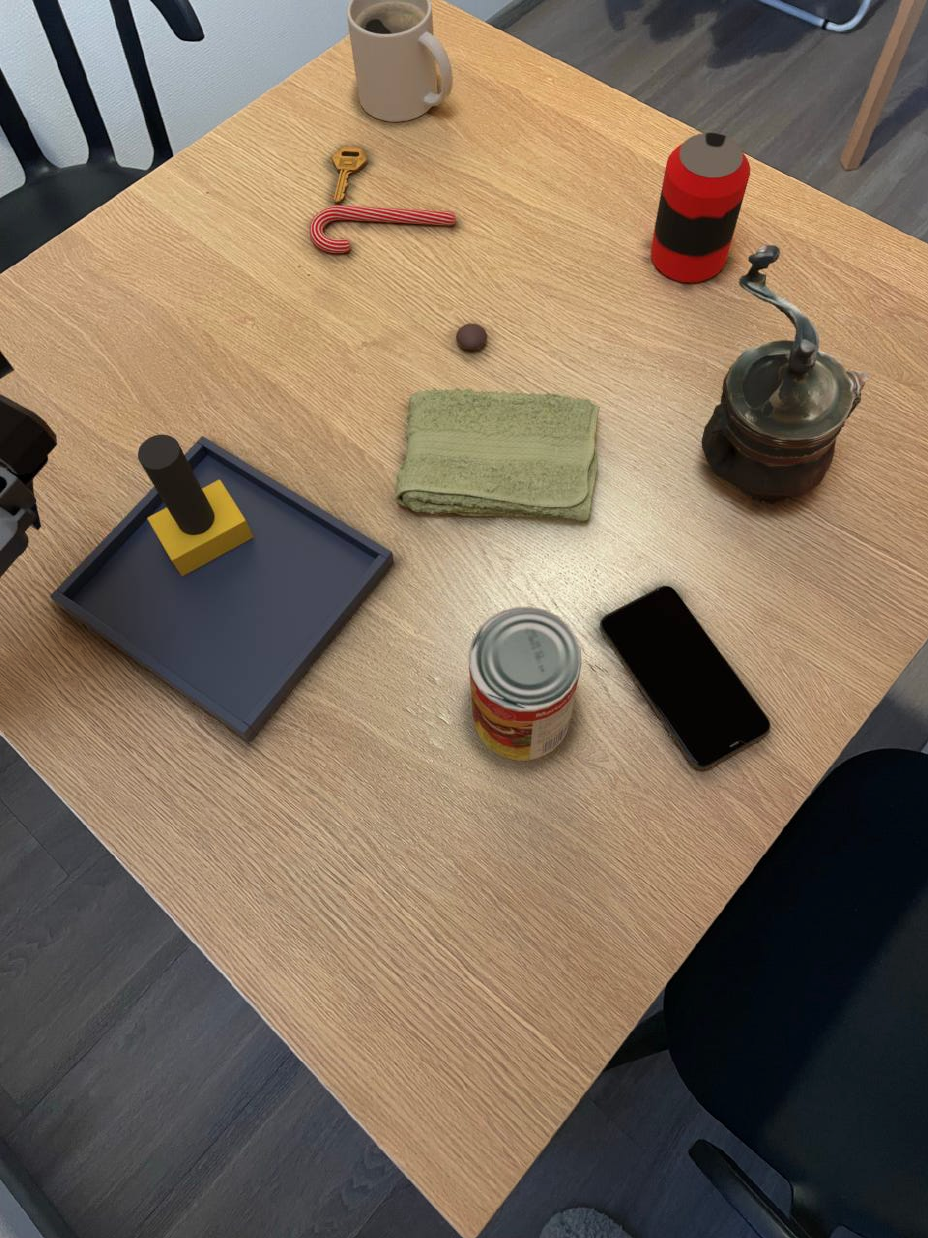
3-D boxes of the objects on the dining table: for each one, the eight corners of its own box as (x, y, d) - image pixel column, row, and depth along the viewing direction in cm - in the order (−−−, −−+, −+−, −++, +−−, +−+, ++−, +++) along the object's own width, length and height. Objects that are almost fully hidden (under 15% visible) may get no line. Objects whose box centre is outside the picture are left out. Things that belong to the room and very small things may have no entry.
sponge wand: (182, 577, 84) (130, 496, 72) (157, 535, 86) (103, 450, 74) (253, 537, 85) (214, 452, 74) (228, 497, 87) (185, 408, 75)
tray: (249, 742, 78) (243, 734, 76) (59, 606, 84) (48, 596, 82) (394, 563, 85) (392, 551, 83) (208, 448, 90) (202, 435, 88)
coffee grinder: (758, 369, 92) (813, 219, 76) (852, 487, 86) (934, 352, 70) (641, 421, 90) (672, 278, 74) (730, 546, 84) (785, 421, 68)
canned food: (508, 651, 81) (509, 586, 70) (589, 701, 79) (603, 643, 68) (453, 726, 78) (446, 670, 67) (535, 780, 76) (541, 732, 65)
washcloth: (593, 529, 85) (596, 510, 82) (394, 516, 86) (390, 497, 84) (598, 407, 91) (602, 385, 88) (411, 397, 92) (408, 375, 89)
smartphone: (594, 623, 81) (696, 776, 76) (595, 619, 81) (698, 773, 75) (668, 584, 83) (774, 731, 77) (670, 580, 82) (777, 728, 76)
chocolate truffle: (489, 352, 94) (489, 340, 92) (458, 356, 94) (458, 345, 92) (484, 328, 95) (484, 316, 94) (454, 332, 95) (453, 321, 94)
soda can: (730, 234, 99) (759, 131, 88) (720, 290, 96) (748, 190, 85) (656, 222, 100) (675, 119, 89) (644, 277, 97) (662, 177, 86)
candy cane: (450, 262, 99) (450, 251, 98) (306, 254, 100) (303, 243, 99) (457, 218, 101) (456, 207, 100) (315, 211, 102) (313, 200, 101)
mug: (351, 77, 111) (338, -11, 102) (431, 60, 112) (426, -29, 103) (372, 141, 106) (361, 55, 97) (456, 123, 107) (452, 36, 98)
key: (321, 202, 103) (321, 199, 102) (335, 148, 106) (335, 145, 106) (356, 204, 102) (356, 201, 102) (369, 150, 106) (369, 147, 105)
